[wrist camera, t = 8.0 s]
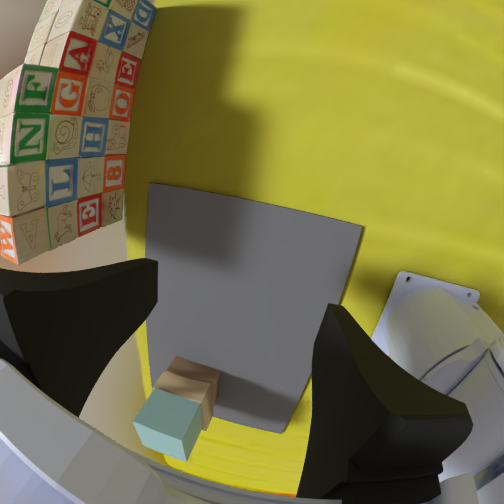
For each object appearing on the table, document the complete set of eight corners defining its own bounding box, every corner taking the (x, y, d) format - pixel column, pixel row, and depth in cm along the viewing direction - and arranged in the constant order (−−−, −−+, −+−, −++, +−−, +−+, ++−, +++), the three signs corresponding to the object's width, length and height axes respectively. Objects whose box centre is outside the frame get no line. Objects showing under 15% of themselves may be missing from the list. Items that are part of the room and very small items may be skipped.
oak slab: (210, 383, 23) (201, 402, 21) (213, 413, 25) (206, 430, 22) (163, 371, 24) (151, 387, 22) (170, 402, 26) (161, 417, 23)
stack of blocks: (110, 20, 17) (25, -13, 5) (158, 7, 16) (74, -48, 4) (80, 212, 24) (-16, 248, 12) (123, 221, 23) (16, 268, 12)
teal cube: (200, 402, 21) (181, 440, 17) (202, 427, 22) (186, 461, 18) (155, 387, 22) (132, 420, 17) (161, 414, 23) (142, 445, 19)
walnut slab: (221, 370, 25) (213, 387, 23) (217, 398, 27) (210, 414, 25) (176, 355, 26) (165, 370, 24) (176, 385, 28) (167, 399, 26)
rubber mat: (361, 225, 19) (362, 226, 18) (281, 432, 28) (281, 433, 27) (151, 182, 21) (149, 183, 21) (153, 392, 30) (152, 394, 30)
